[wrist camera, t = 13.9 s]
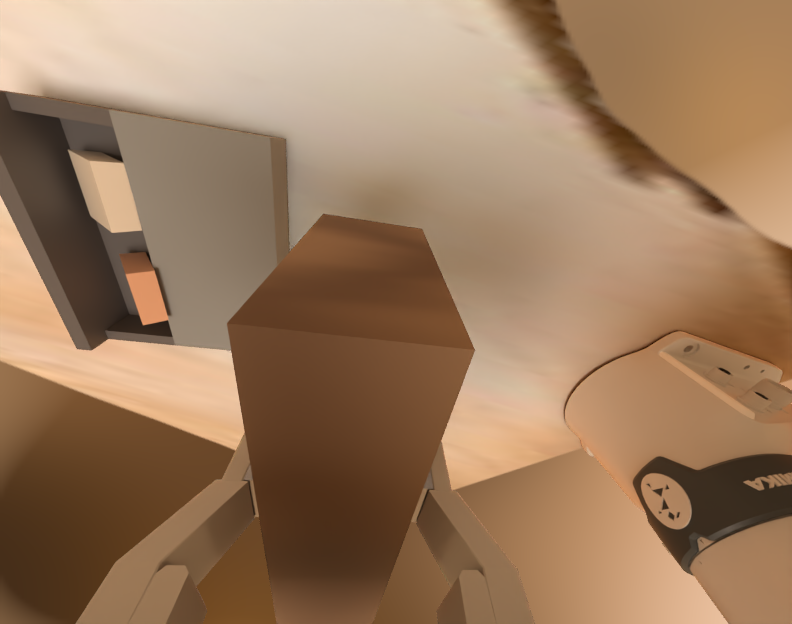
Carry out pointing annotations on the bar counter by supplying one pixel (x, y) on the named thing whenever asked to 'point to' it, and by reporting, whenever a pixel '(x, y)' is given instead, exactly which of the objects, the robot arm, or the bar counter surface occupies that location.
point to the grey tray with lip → (145, 217)
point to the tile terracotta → (144, 287)
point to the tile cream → (106, 190)
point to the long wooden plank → (344, 408)
